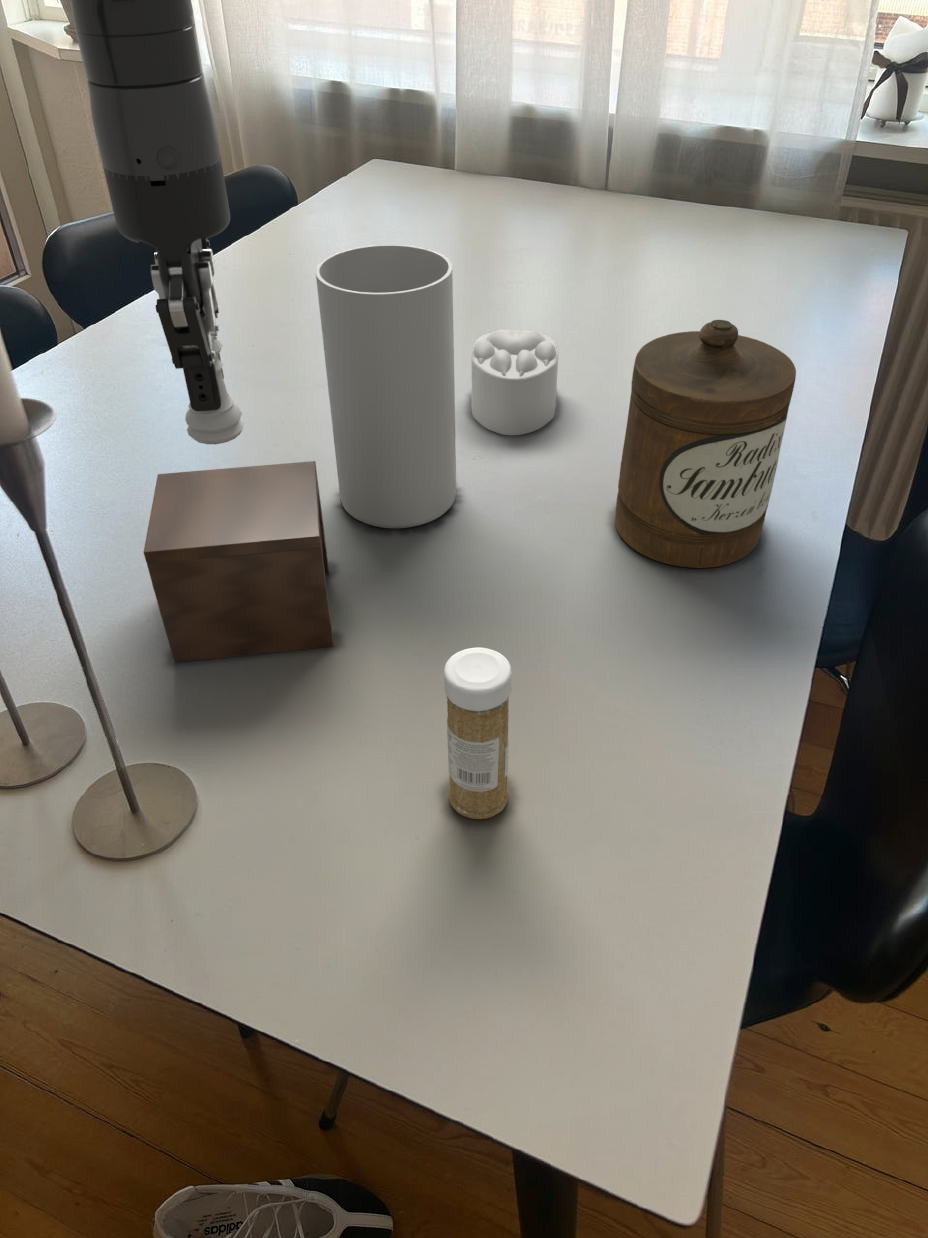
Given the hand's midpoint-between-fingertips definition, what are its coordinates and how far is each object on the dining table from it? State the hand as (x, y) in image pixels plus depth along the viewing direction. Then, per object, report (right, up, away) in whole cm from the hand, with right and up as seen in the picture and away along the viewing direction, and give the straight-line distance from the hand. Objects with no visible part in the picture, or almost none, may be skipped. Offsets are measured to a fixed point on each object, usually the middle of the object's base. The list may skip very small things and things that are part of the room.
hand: (208, 395), depth 74 cm
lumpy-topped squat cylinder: (+26, +9, +46) cm, 54 cm away
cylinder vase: (+12, -4, +31) cm, 33 cm away
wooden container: (+43, -8, +26) cm, 51 cm away
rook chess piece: (0, -3, +2) cm, 3 cm away
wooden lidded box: (0, -16, +16) cm, 23 cm away
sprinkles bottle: (+21, -31, -1) cm, 37 cm away
